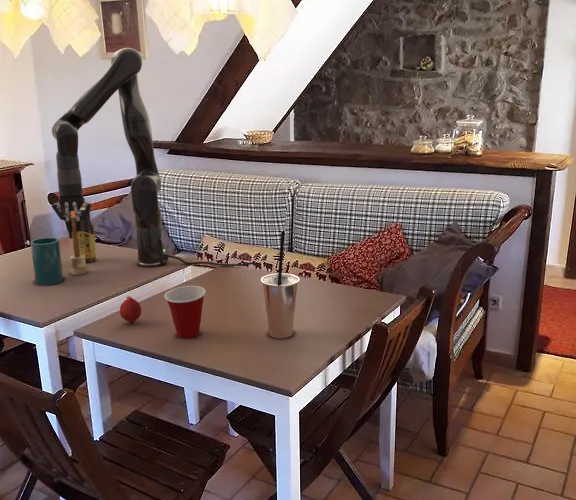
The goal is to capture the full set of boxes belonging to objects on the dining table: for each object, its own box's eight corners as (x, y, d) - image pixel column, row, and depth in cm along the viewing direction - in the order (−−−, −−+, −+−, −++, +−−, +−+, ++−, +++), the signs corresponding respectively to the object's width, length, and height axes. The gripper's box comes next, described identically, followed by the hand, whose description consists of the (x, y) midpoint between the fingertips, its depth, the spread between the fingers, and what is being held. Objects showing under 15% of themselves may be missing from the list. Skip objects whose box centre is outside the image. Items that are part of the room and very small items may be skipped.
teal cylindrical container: (66, 276, 220) (61, 237, 216) (59, 284, 211) (55, 243, 207) (39, 277, 219) (34, 238, 215) (32, 285, 210) (27, 244, 207)
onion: (131, 317, 182) (129, 291, 180) (146, 321, 180) (144, 294, 177) (116, 324, 178) (114, 297, 175) (131, 328, 175) (129, 300, 173)
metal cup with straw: (284, 346, 162) (283, 232, 154) (252, 335, 169) (249, 225, 161) (310, 333, 170) (311, 224, 162) (279, 323, 177) (277, 218, 169)
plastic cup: (159, 333, 171) (156, 291, 168) (194, 323, 178) (192, 282, 174) (179, 346, 163) (176, 302, 160) (215, 335, 169) (213, 292, 166)
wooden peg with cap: (87, 270, 226) (82, 215, 221) (84, 274, 221) (79, 218, 216) (73, 271, 226) (67, 215, 220) (70, 275, 221) (64, 219, 215)
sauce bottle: (75, 262, 236) (70, 209, 230) (85, 257, 242) (80, 206, 236) (90, 263, 234) (85, 210, 229) (100, 259, 240) (95, 207, 234)
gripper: (45, 183, 210) (51, 234, 215) (88, 182, 212) (93, 233, 216) (51, 180, 218) (56, 229, 222) (92, 179, 219) (97, 228, 224)
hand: (74, 231), depth 219 cm, fingers closed on wooden peg with cap
